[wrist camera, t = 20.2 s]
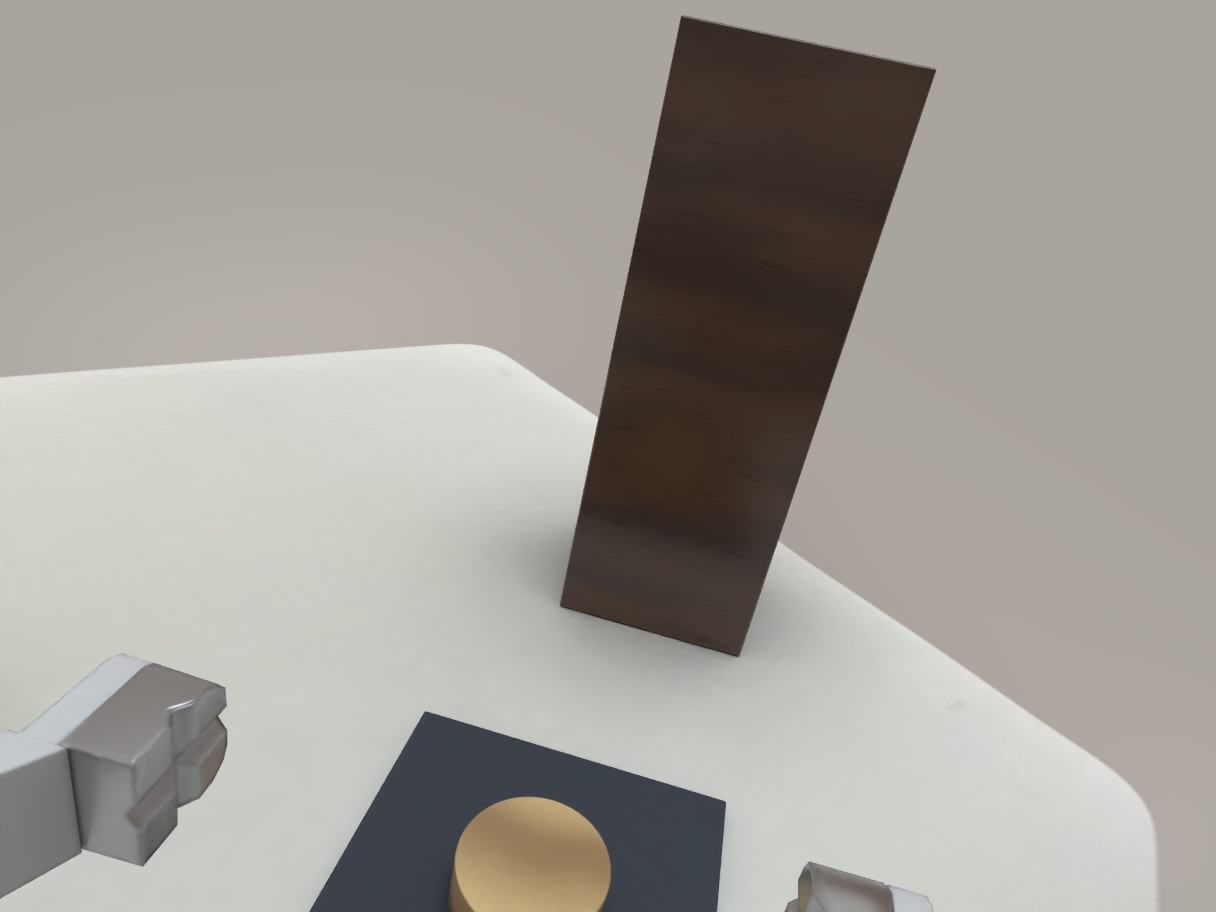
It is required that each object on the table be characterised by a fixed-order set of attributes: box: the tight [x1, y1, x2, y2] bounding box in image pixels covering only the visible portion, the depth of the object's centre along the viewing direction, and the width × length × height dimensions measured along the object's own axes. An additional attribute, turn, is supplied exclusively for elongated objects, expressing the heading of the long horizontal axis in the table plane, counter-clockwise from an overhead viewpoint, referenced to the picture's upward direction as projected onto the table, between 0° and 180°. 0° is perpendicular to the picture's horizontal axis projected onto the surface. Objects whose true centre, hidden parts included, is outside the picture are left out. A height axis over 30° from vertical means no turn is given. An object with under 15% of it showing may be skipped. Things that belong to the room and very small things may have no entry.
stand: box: [560, 16, 936, 656], centre depth 38 cm, size 8×9×26 cm
